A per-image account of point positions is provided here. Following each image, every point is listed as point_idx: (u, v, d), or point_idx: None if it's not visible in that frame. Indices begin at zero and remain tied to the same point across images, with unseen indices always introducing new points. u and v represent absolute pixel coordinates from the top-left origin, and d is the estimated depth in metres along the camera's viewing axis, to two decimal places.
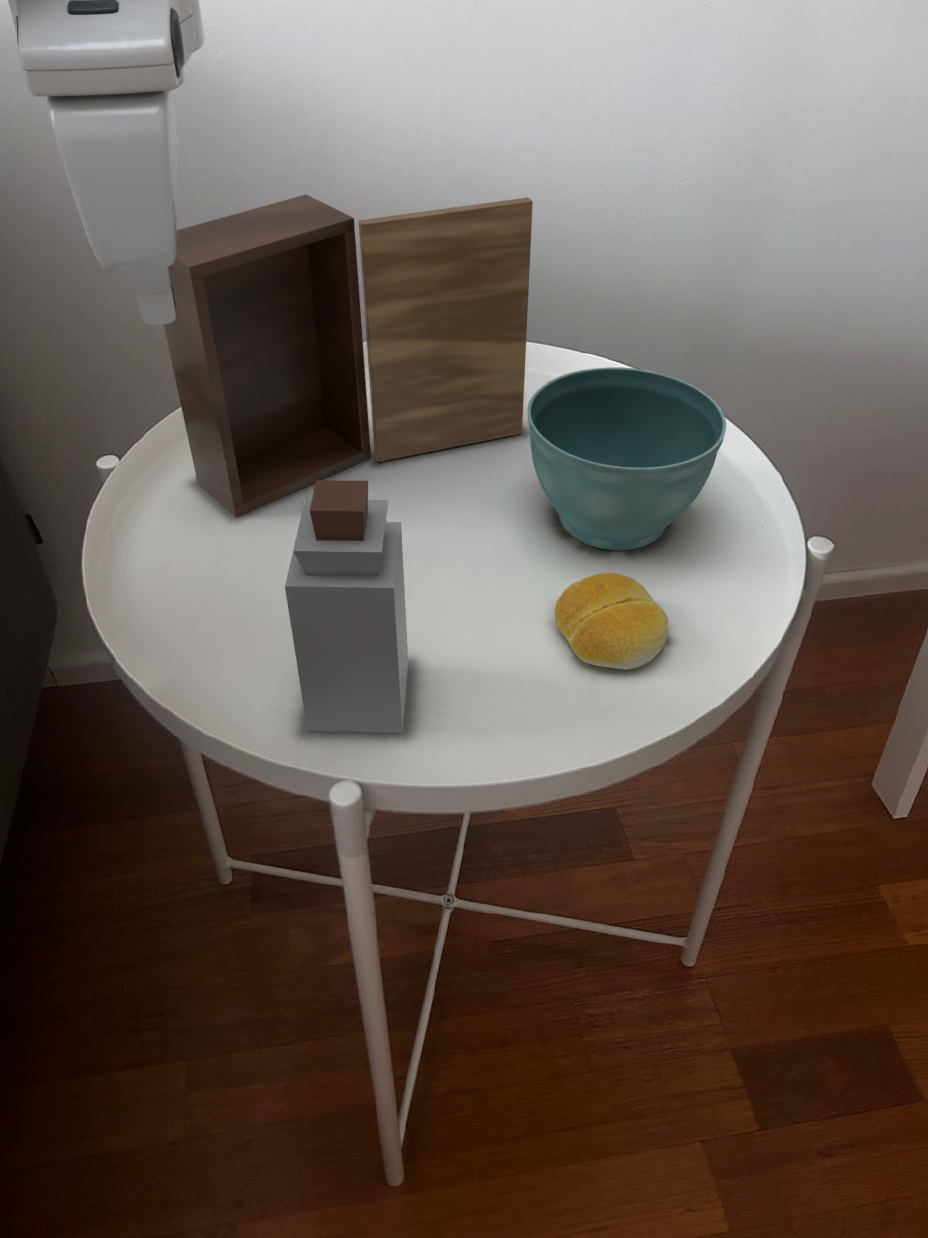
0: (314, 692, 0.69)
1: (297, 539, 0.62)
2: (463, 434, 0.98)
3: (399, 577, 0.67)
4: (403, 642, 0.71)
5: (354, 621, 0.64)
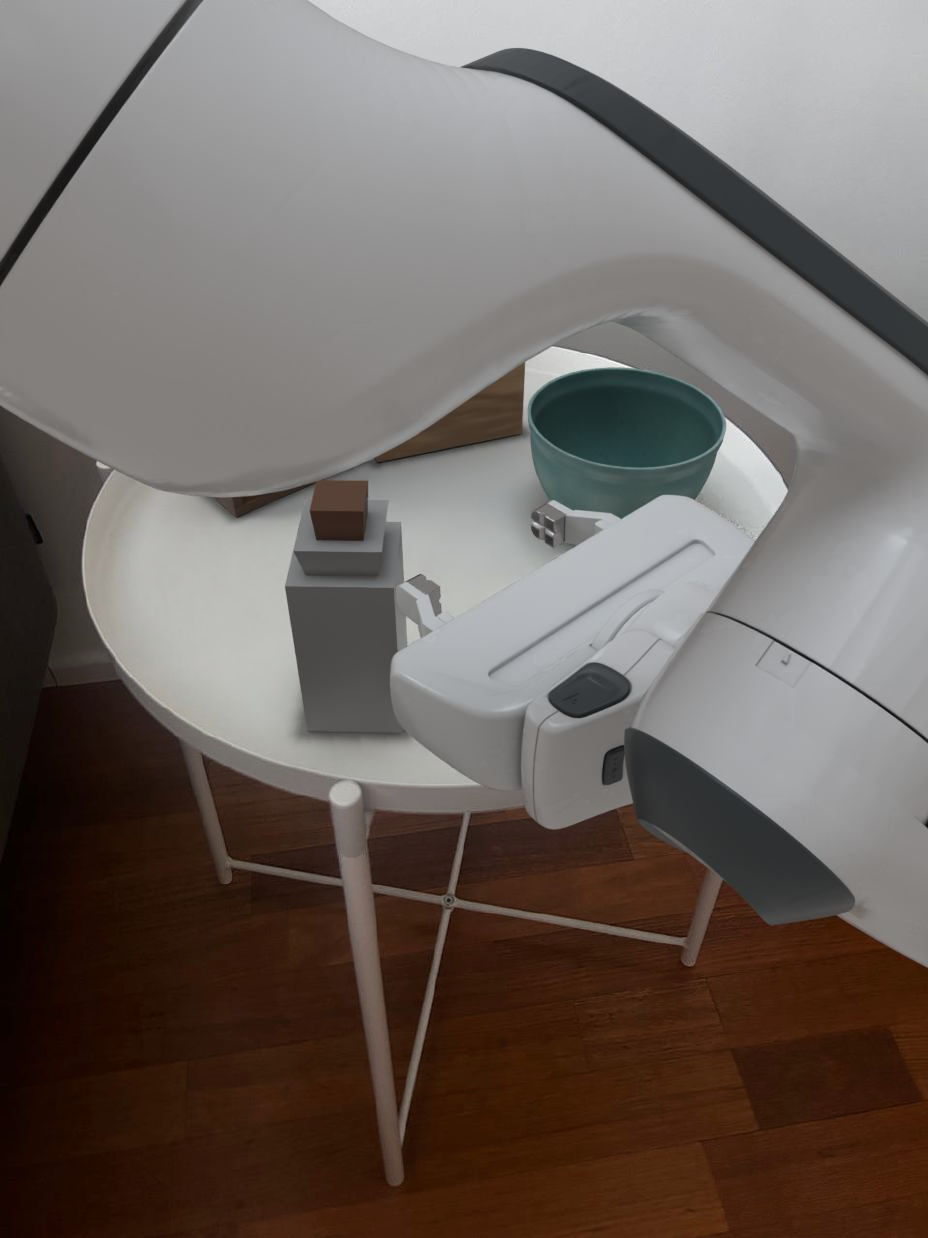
0: (314, 692, 0.69)
1: (297, 539, 0.62)
2: (463, 434, 0.98)
3: (399, 577, 0.67)
4: (403, 642, 0.71)
5: (354, 621, 0.64)
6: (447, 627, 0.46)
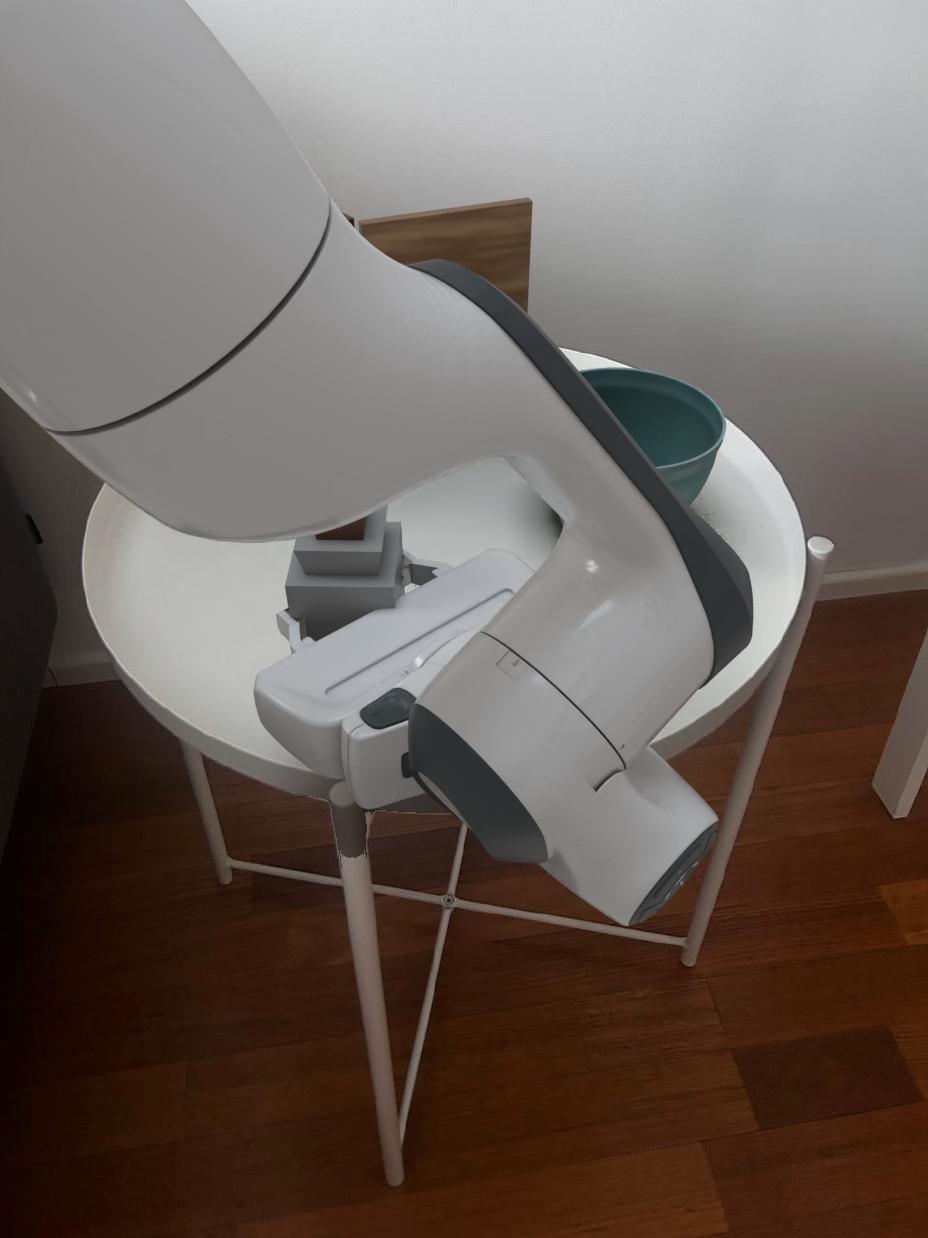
0: None
1: (297, 539, 0.62)
2: None
3: (399, 577, 0.67)
4: None
5: None
6: (301, 653, 0.60)
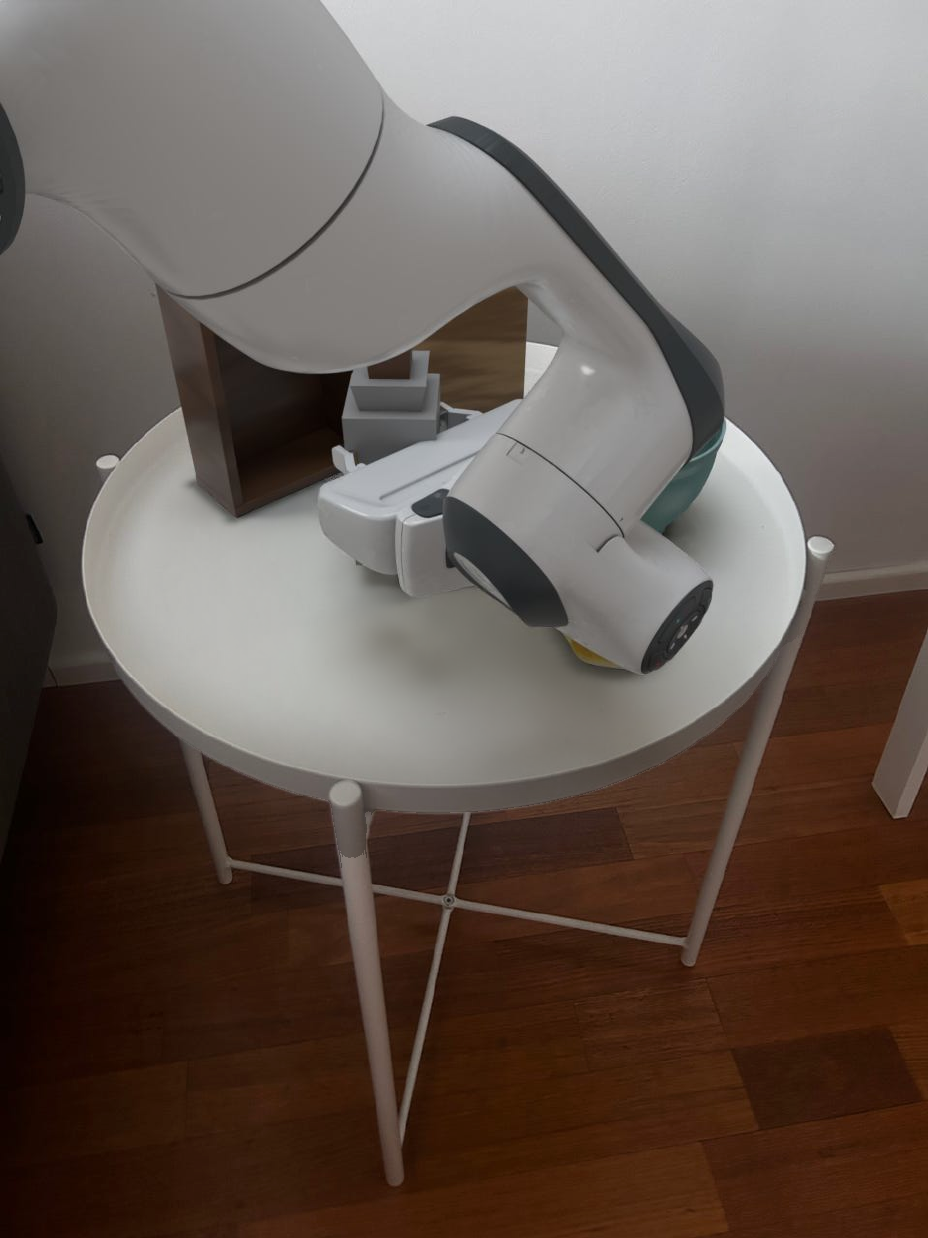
0: None
1: (352, 377, 0.72)
2: None
3: (438, 420, 0.77)
4: None
5: None
6: (357, 471, 0.71)
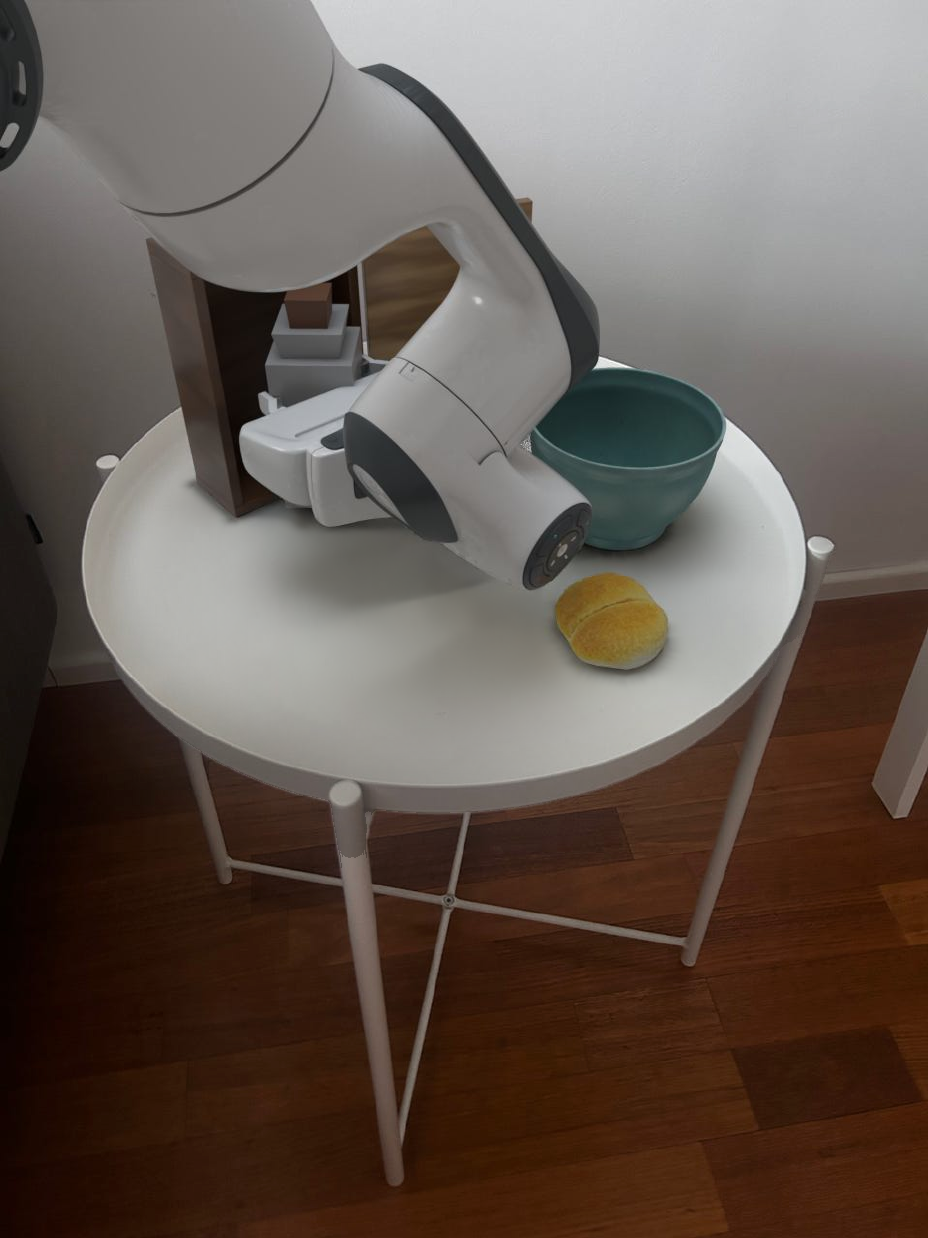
0: None
1: (274, 327, 0.78)
2: None
3: (358, 369, 0.83)
4: None
5: None
6: (277, 412, 0.76)
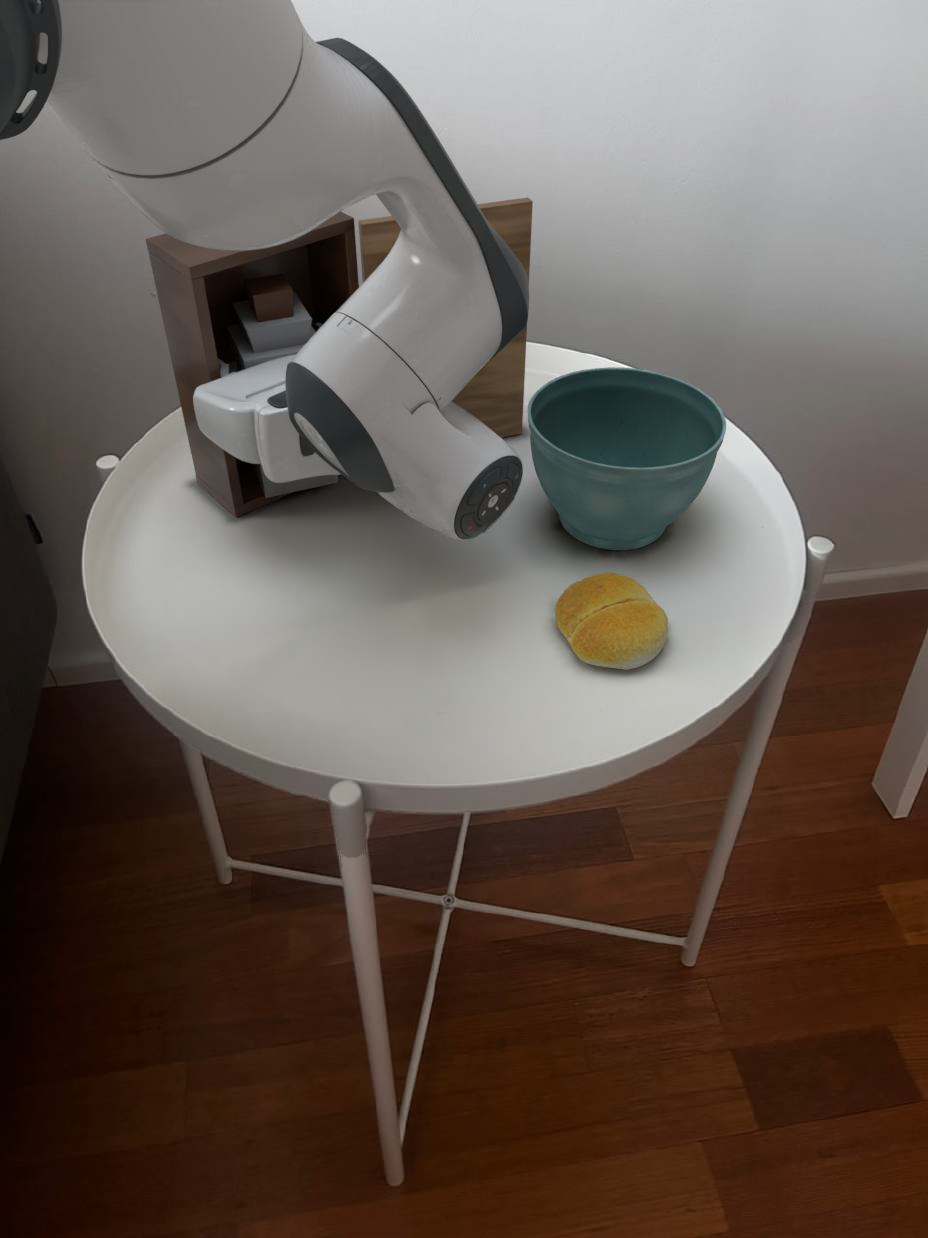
0: None
1: (244, 323, 0.82)
2: None
3: None
4: None
5: None
6: (230, 375, 0.80)
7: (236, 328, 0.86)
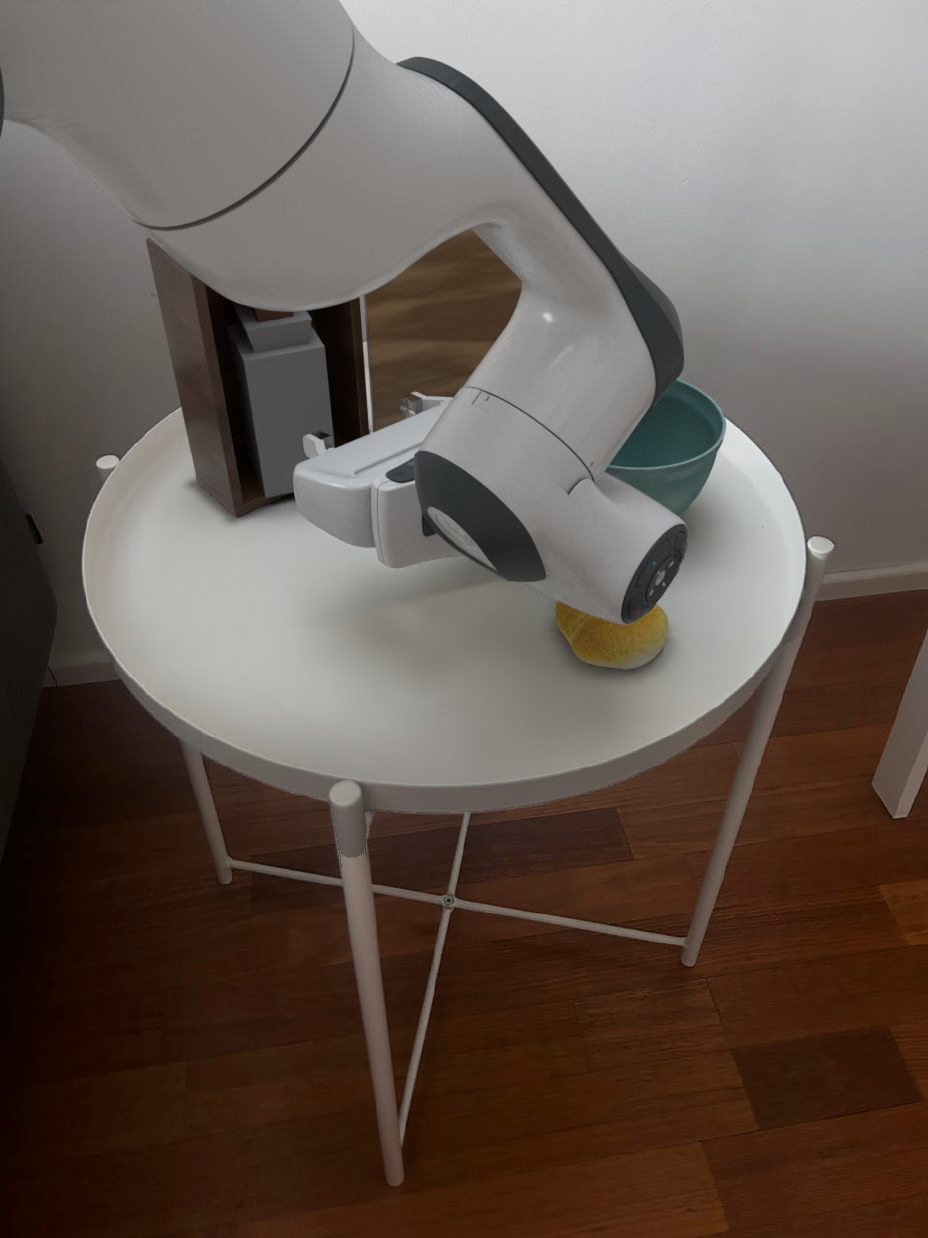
0: (270, 458, 0.88)
1: (244, 323, 0.82)
2: None
3: None
4: None
5: (297, 383, 0.85)
6: (331, 451, 0.71)
7: (236, 328, 0.86)
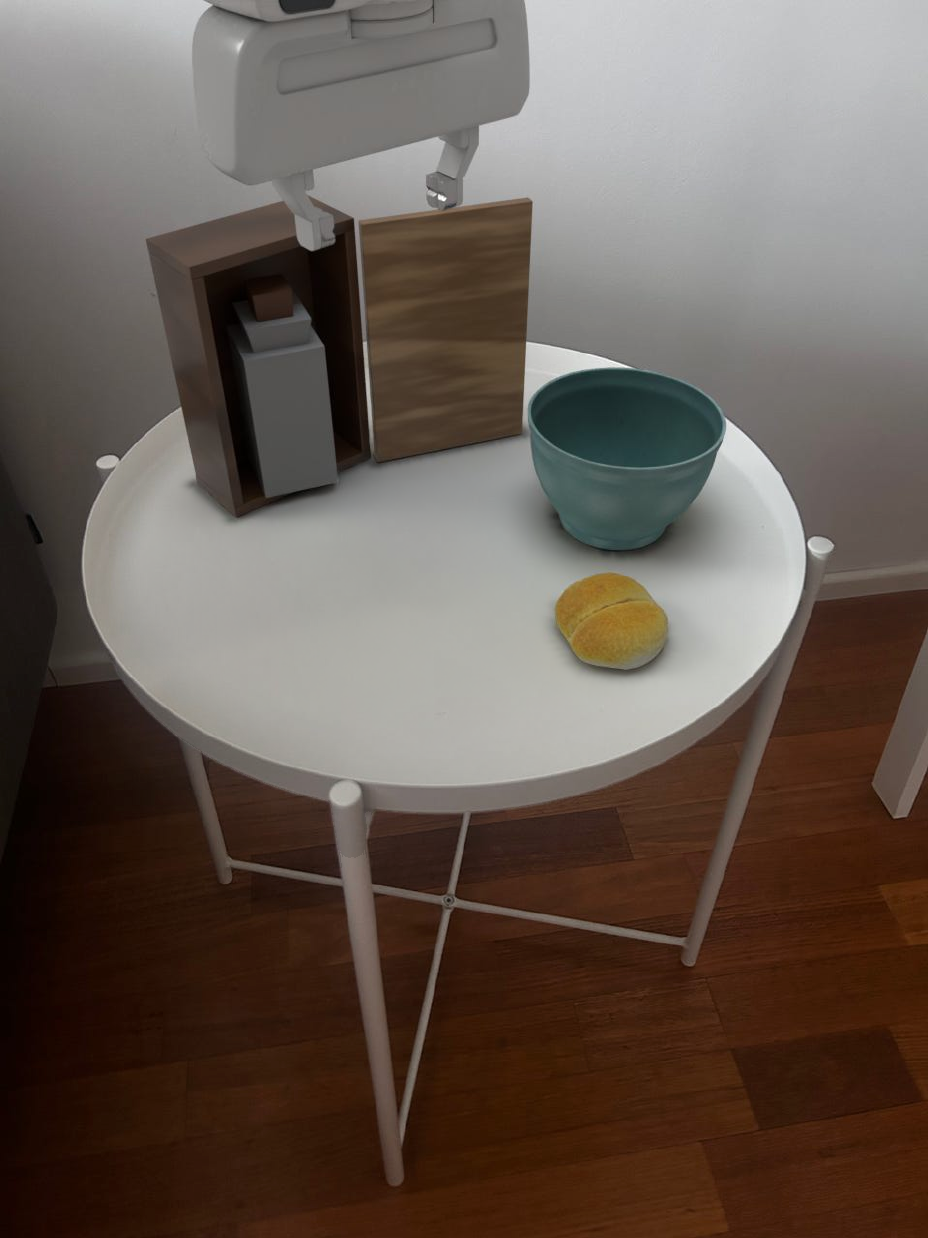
0: (269, 458, 0.88)
1: (244, 323, 0.82)
2: (463, 434, 0.98)
3: None
4: None
5: (297, 383, 0.85)
6: None
7: (236, 328, 0.86)
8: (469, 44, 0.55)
